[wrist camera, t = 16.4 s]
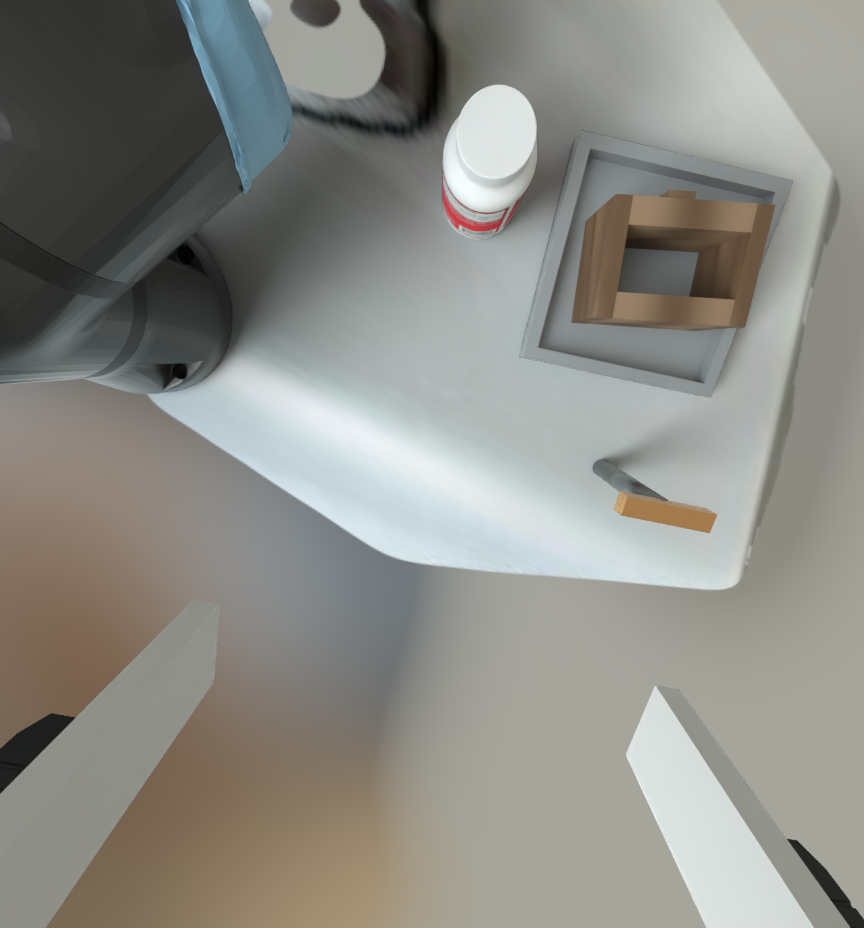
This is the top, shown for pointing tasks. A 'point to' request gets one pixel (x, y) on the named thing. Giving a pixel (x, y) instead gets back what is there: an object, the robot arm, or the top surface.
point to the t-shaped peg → (651, 502)
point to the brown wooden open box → (673, 229)
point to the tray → (635, 266)
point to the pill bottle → (488, 161)
